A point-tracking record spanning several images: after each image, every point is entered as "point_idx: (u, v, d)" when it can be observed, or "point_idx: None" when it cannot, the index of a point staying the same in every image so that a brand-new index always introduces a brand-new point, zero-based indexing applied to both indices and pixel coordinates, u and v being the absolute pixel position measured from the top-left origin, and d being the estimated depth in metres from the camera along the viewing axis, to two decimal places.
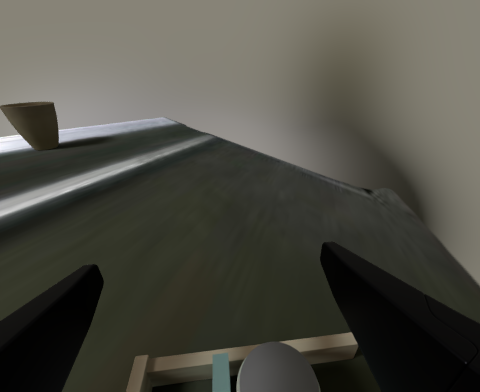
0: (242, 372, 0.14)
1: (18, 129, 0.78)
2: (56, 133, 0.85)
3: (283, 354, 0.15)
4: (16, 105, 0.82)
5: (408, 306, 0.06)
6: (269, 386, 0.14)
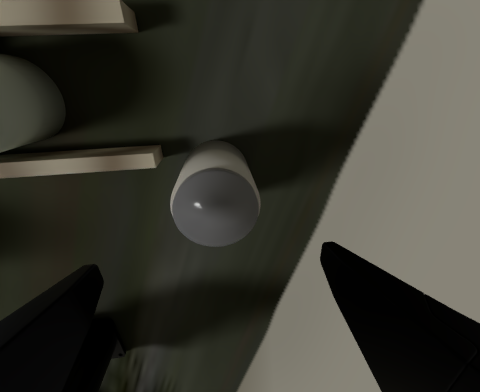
0: None
1: None
2: None
3: None
4: None
5: (408, 306, 0.06)
6: None
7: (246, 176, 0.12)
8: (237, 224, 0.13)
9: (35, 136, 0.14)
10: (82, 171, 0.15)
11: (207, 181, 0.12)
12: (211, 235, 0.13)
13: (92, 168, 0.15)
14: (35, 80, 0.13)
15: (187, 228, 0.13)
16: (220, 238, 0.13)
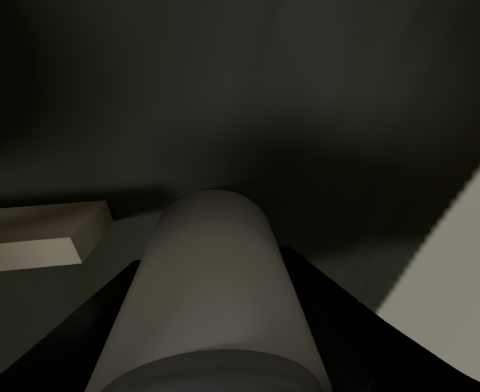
0: None
1: None
2: None
3: None
4: None
5: (337, 314, 0.05)
6: None
7: (302, 358, 0.04)
8: None
9: None
10: None
11: None
12: None
13: None
14: None
15: None
16: None
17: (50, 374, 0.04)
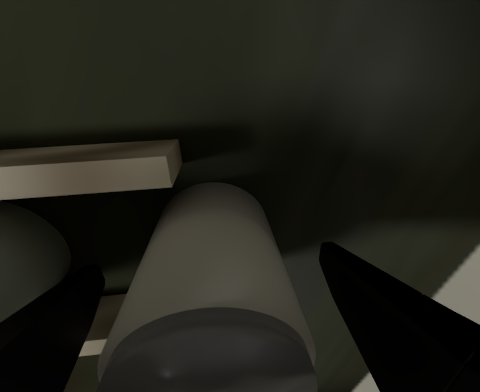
0: None
1: None
2: None
3: None
4: None
5: (406, 306, 0.06)
6: None
7: (288, 318, 0.05)
8: None
9: None
10: (96, 353, 0.10)
11: (183, 359, 0.04)
12: None
13: None
14: (25, 249, 0.08)
15: None
16: None
17: None
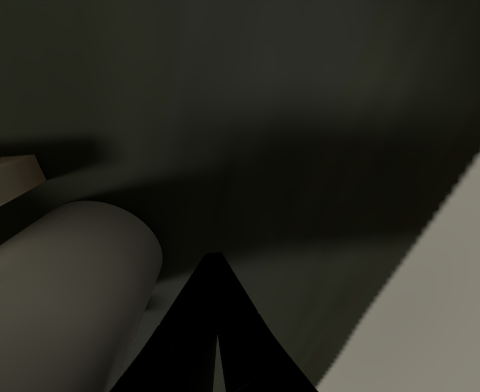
0: None
1: None
2: None
3: None
4: None
5: (228, 327, 0.05)
6: None
7: None
8: None
9: None
10: None
11: None
12: None
13: None
14: None
15: None
16: None
17: (186, 357, 0.05)
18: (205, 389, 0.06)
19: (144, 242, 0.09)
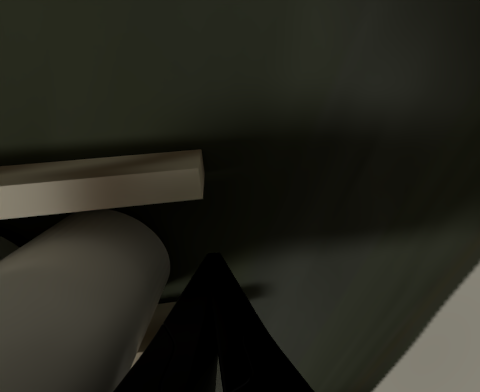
0: None
1: None
2: None
3: None
4: None
5: (225, 328, 0.05)
6: None
7: None
8: None
9: None
10: None
11: None
12: None
13: (133, 364, 0.10)
14: None
15: None
16: None
17: (190, 356, 0.05)
18: (208, 389, 0.06)
19: (151, 249, 0.09)
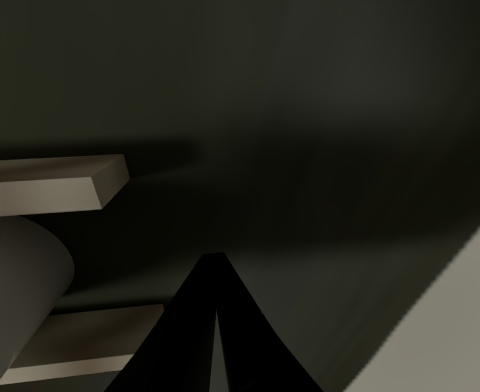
0: None
1: None
2: None
3: None
4: None
5: (232, 327, 0.05)
6: None
7: None
8: None
9: None
10: (40, 378, 0.10)
11: None
12: None
13: (56, 374, 0.10)
14: None
15: None
16: None
17: (181, 357, 0.05)
18: (201, 390, 0.06)
19: (39, 246, 0.09)
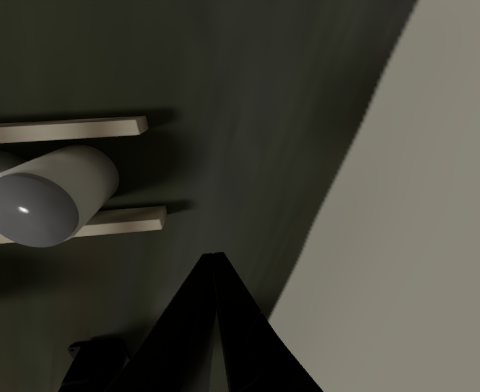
0: None
1: None
2: None
3: None
4: None
5: (232, 327, 0.05)
6: None
7: (50, 178, 0.13)
8: (56, 224, 0.14)
9: None
10: (104, 233, 0.19)
11: (3, 187, 0.12)
12: (35, 236, 0.14)
13: (112, 231, 0.19)
14: None
15: (8, 232, 0.14)
16: (46, 239, 0.14)
17: (181, 358, 0.05)
18: (201, 390, 0.06)
19: (105, 162, 0.18)
